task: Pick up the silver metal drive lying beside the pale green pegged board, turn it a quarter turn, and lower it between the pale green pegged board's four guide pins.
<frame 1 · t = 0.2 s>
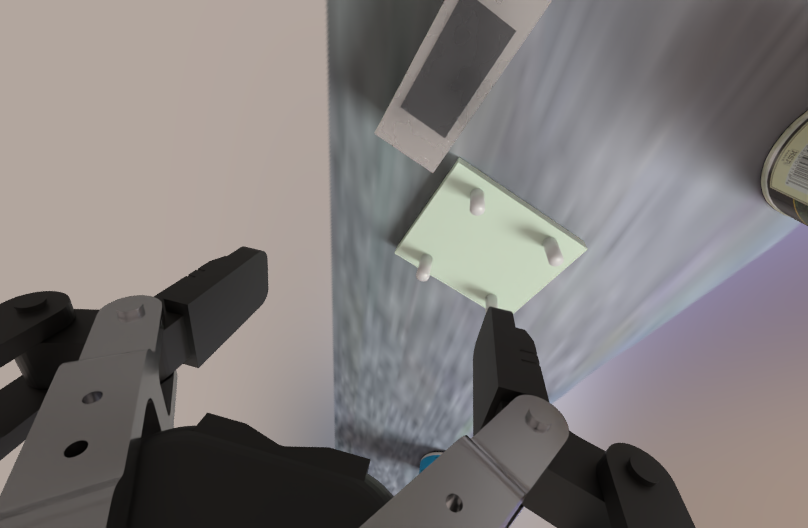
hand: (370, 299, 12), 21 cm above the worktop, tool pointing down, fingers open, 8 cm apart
pale green pegged board: (484, 243, 33), on the worktop
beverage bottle: (444, 462, 57), on the worktop
drive: (458, 66, 26), on the worktop
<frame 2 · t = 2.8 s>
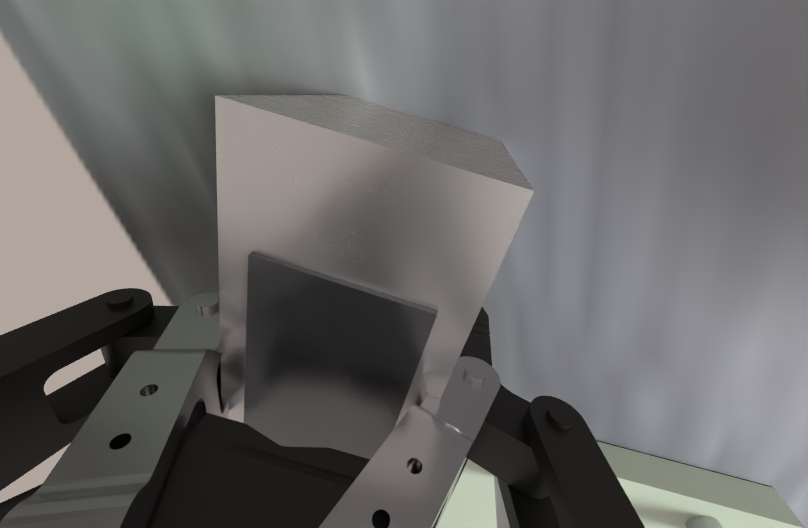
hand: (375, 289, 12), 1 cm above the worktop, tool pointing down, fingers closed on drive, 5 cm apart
pale green pegged board: (557, 509, 17), on the worktop
drive: (381, 279, 13), on the worktop, touching gripper
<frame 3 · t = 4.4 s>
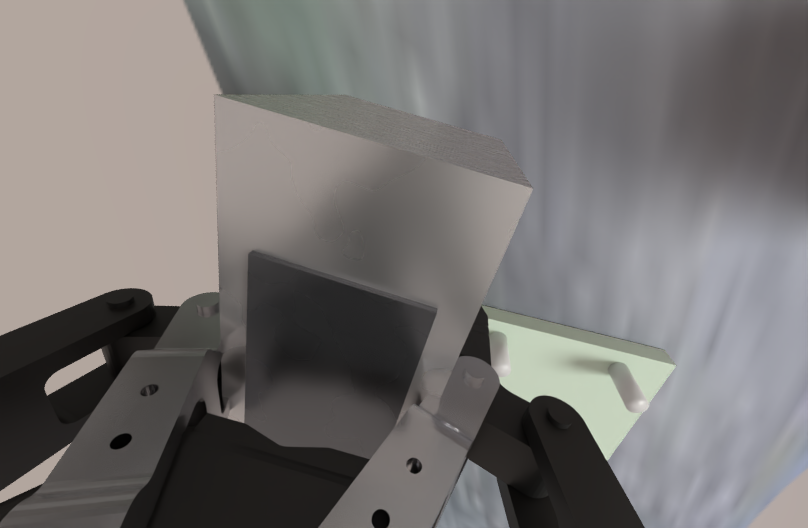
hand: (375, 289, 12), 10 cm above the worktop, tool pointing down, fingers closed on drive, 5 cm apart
pale green pegged board: (532, 381, 26), on the worktop
drive: (381, 278, 13), point 10 cm above the worktop, touching gripper
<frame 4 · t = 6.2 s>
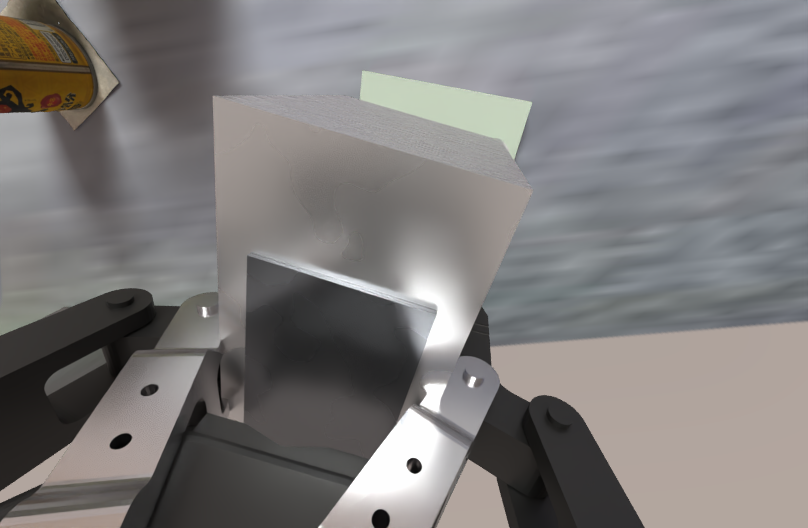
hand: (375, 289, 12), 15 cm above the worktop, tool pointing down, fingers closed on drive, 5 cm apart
condiment: (59, 57, 27), on the worktop
pale green pegged board: (426, 187, 26), on the worktop
drive: (381, 279, 13), point 15 cm above the worktop, touching gripper
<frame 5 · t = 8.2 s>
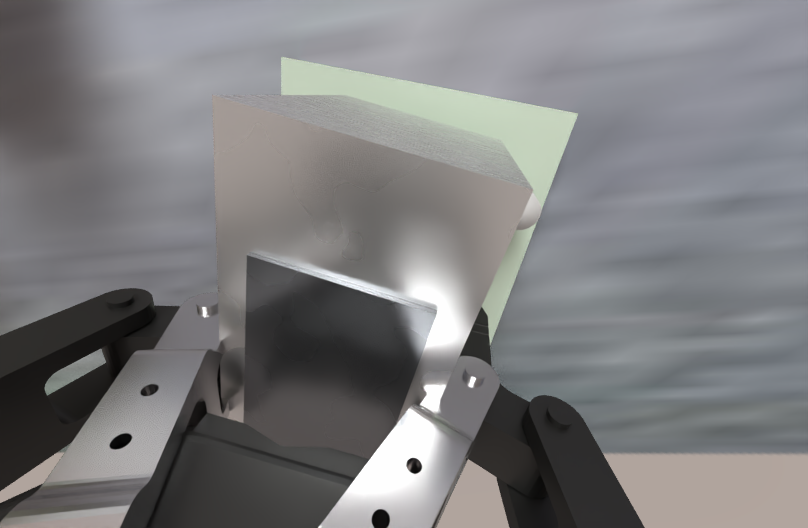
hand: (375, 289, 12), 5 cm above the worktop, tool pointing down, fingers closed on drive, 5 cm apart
pale green pegged board: (400, 242, 17), on the worktop
drive: (381, 279, 13), point 4 cm above the worktop, touching gripper
when the fingers open (4 cm above the worktop, at t = 9.7 s): drive drops 1 cm, resting on pale green pegged board.
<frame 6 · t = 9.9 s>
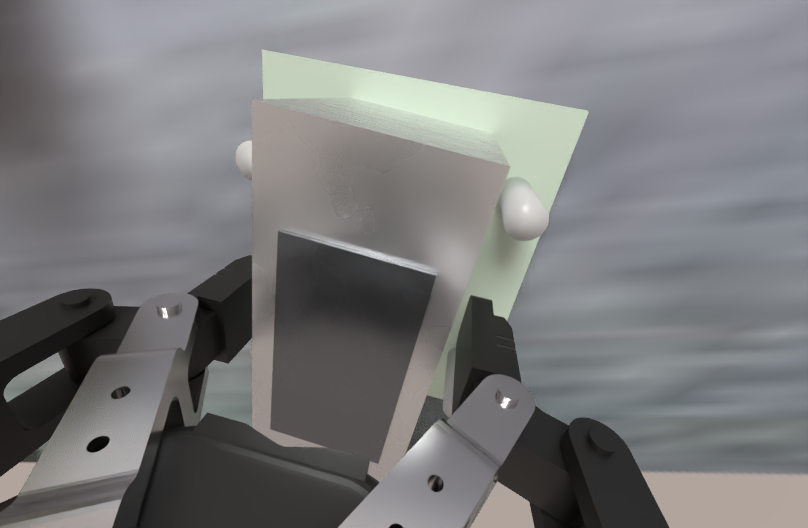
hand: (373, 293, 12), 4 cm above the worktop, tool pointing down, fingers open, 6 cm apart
pale green pegged board: (395, 249, 16), on the worktop
drive: (387, 264, 14), point 1 cm above the worktop, touching pale green pegged board
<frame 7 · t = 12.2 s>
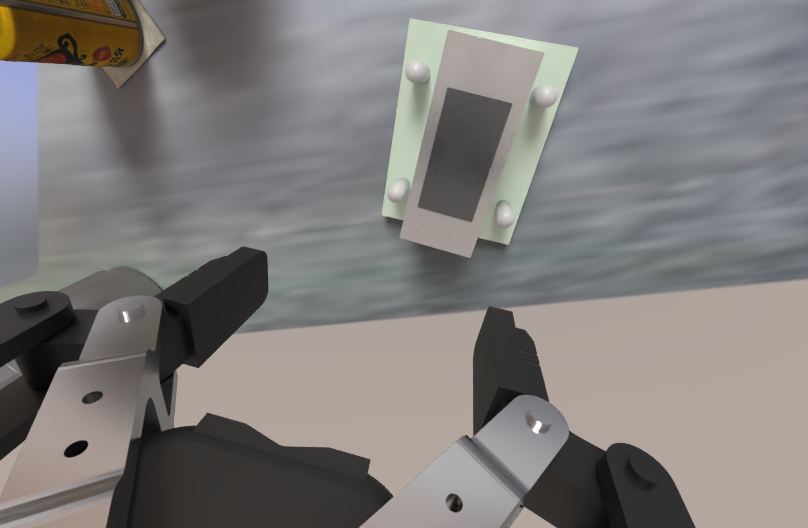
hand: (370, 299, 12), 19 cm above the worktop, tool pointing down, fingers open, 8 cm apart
condiment: (106, 14, 28), on the worktop
pale green pegged board: (465, 141, 26), on the worktop
drive: (464, 145, 25), point 1 cm above the worktop, touching pale green pegged board
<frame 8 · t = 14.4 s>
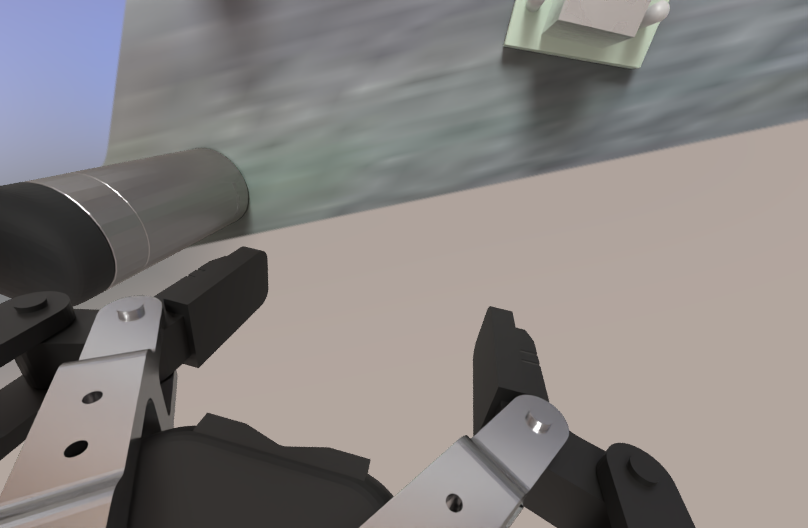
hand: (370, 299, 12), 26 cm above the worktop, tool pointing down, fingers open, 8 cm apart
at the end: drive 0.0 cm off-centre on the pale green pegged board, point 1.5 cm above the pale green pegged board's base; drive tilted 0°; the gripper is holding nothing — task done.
